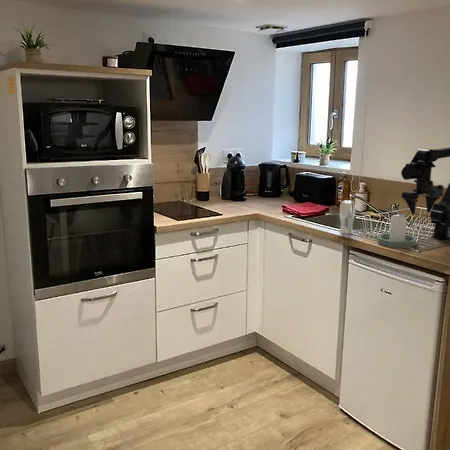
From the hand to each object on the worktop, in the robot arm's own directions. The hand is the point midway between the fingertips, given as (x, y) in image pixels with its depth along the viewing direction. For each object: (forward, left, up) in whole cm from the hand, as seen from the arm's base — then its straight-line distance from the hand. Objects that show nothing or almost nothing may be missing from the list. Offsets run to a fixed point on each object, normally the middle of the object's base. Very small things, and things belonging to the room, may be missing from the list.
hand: (420, 213), depth 221 cm
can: (+10, -3, -13) cm, 16 cm away
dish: (+10, -3, -13) cm, 17 cm away
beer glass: (+18, -28, -13) cm, 36 cm away
